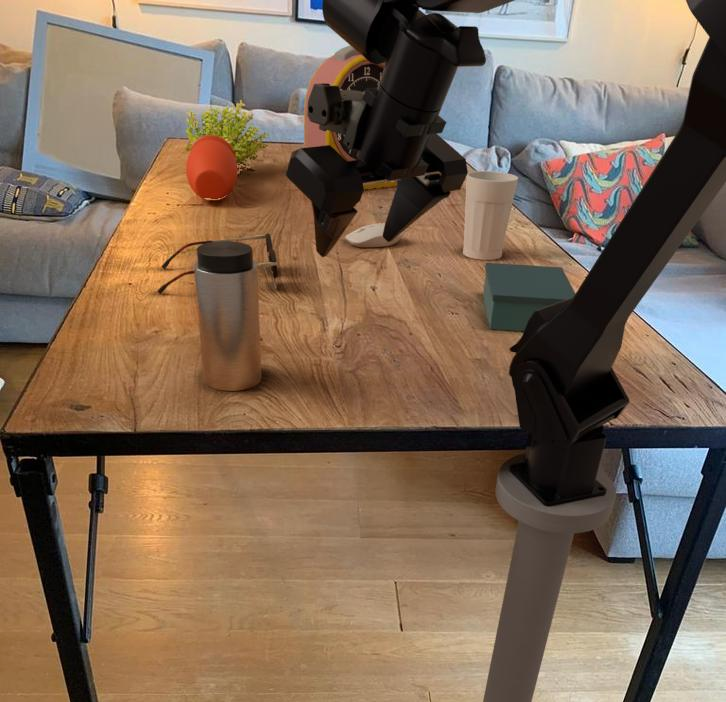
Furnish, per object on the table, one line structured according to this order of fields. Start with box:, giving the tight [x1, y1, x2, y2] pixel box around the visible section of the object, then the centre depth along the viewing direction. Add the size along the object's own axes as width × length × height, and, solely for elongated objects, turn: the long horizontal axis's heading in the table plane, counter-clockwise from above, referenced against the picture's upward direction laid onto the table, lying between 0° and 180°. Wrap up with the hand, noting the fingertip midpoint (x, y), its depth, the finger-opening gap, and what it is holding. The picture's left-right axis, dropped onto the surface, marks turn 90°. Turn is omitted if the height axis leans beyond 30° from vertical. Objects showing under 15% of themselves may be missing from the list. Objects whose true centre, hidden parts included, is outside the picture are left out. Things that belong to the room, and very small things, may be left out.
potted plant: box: [183, 99, 270, 202], centre depth 154 cm, size 19×14×45 cm
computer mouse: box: [344, 222, 405, 248], centre depth 121 cm, size 6×10×3 cm, turn 112°
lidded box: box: [482, 262, 576, 332], centre depth 95 cm, size 13×11×4 cm
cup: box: [462, 170, 519, 261], centre depth 116 cm, size 8×8×12 cm
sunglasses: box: [157, 233, 279, 295], centre depth 102 cm, size 14×16×5 cm
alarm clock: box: [303, 45, 397, 191], centre depth 152 cm, size 21×9×26 cm, turn 128°
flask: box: [193, 241, 263, 392], centre depth 73 cm, size 6×6×14 cm
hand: (354, 246), depth 74 cm, fingers open, 9 cm apart
